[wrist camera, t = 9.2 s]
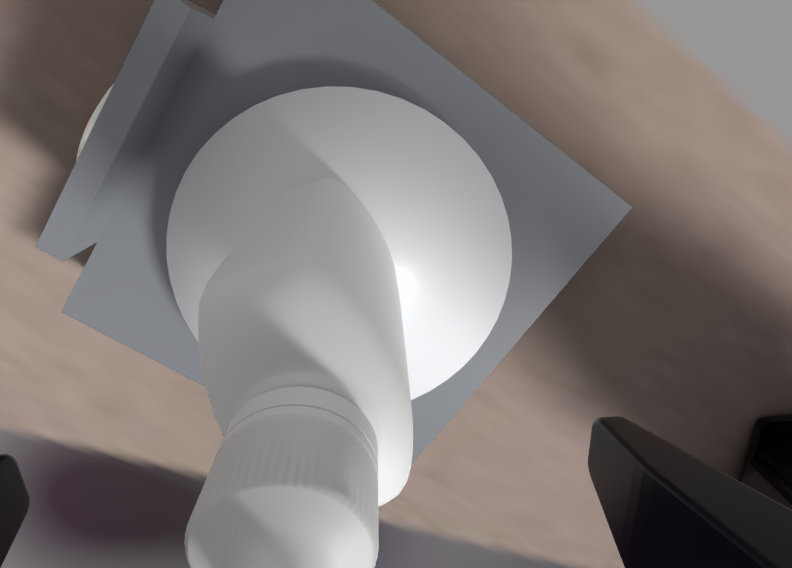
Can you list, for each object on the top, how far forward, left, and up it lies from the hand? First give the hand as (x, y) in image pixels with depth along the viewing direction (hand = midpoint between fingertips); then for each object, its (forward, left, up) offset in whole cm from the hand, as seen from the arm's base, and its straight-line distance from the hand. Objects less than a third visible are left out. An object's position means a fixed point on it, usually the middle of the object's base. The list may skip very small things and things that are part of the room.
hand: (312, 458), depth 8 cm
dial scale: (0, 0, -13) cm, 13 cm away
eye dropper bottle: (0, 0, -9) cm, 9 cm away
